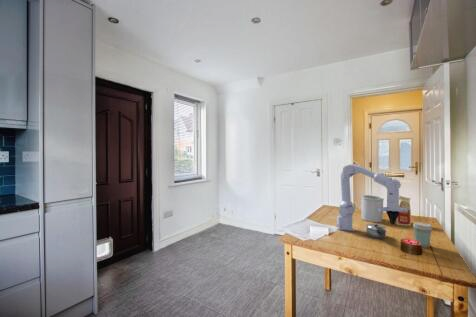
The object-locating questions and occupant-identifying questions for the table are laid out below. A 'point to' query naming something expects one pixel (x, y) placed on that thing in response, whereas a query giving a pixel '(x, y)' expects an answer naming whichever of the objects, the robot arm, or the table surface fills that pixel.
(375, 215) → the utensil holder
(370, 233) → the pot
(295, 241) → the table surface
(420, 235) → the coffee cup
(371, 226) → the lid
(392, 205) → the robot arm
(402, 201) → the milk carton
